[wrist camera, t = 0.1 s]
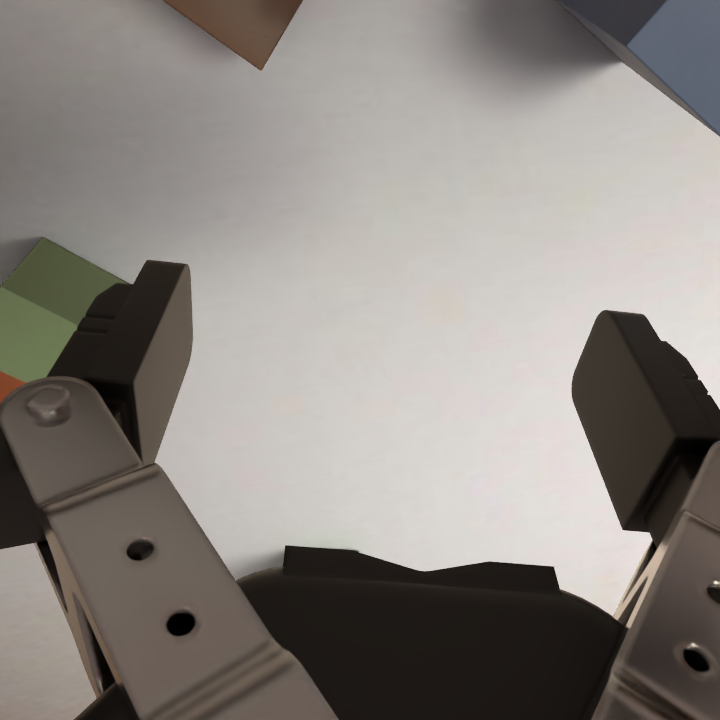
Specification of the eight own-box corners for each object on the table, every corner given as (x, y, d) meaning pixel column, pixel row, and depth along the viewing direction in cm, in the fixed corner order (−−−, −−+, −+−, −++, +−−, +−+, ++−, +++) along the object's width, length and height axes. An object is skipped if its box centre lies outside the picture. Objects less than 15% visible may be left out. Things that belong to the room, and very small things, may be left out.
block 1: (42, 236, 34) (0, 286, 30) (132, 285, 36) (103, 338, 32) (12, 303, 36) (-32, 357, 32) (97, 345, 38) (66, 402, 34)
